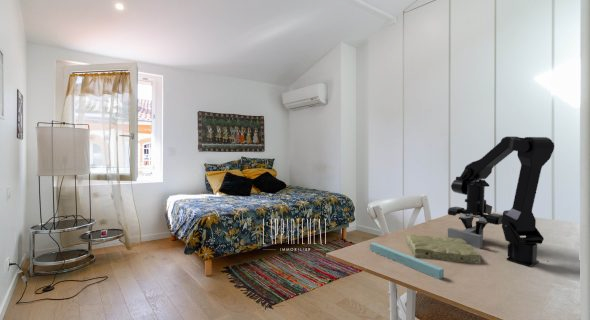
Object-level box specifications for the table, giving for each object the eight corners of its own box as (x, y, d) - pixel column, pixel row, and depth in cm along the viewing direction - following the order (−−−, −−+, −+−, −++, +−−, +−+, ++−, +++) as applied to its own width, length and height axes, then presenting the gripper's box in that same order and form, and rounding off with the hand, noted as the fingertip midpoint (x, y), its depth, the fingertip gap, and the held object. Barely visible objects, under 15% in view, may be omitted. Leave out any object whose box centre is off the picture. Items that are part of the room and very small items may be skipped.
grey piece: (496, 241, 111) (496, 229, 110) (480, 248, 105) (480, 236, 105) (464, 233, 121) (464, 222, 121) (447, 239, 115) (447, 228, 115)
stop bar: (443, 277, 82) (443, 268, 82) (439, 279, 81) (439, 270, 81) (373, 249, 104) (374, 242, 104) (369, 250, 103) (369, 243, 103)
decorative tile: (405, 241, 114) (405, 232, 114) (462, 245, 110) (462, 236, 110) (413, 260, 96) (414, 249, 96) (482, 265, 91) (483, 254, 91)
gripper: (513, 198, 109) (511, 240, 110) (463, 192, 125) (462, 228, 126) (498, 201, 103) (496, 245, 104) (447, 194, 119) (446, 232, 120)
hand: (474, 237), depth 114 cm, fingers closed on grey piece, 2 cm apart
